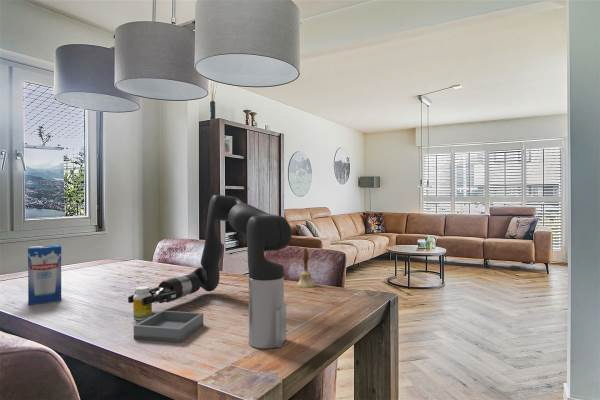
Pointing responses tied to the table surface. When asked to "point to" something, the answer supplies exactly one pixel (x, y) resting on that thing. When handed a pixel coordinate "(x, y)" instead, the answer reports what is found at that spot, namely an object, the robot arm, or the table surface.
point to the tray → (168, 326)
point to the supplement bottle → (138, 309)
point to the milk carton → (44, 274)
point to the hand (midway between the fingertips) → (136, 300)
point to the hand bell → (305, 273)
